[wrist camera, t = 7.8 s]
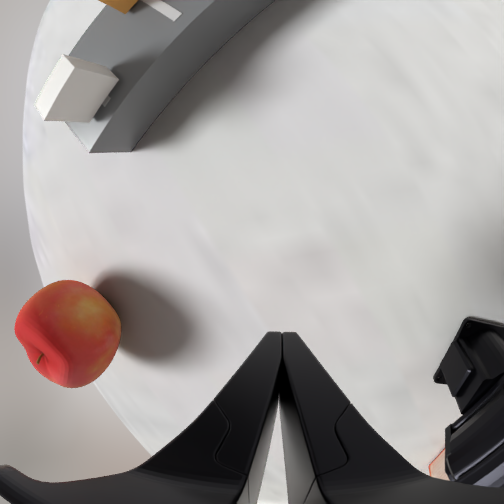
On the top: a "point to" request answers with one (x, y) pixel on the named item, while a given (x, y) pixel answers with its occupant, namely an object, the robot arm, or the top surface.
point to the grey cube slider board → (152, 60)
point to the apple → (69, 333)
